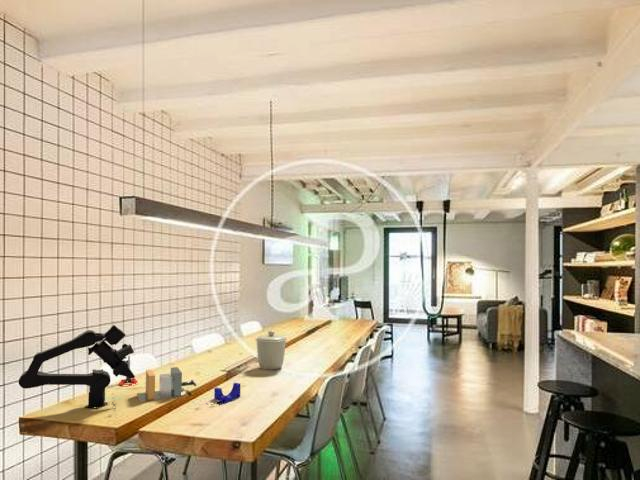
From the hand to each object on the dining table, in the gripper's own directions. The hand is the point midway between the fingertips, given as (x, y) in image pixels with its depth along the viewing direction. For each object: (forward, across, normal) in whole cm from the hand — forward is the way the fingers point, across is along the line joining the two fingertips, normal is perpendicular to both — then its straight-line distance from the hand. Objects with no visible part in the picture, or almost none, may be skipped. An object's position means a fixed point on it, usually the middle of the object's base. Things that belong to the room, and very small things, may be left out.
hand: (134, 377), depth 191 cm
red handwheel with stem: (+7, +32, +7) cm, 33 cm away
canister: (+60, +34, -46) cm, 83 cm away
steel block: (+15, 0, -3) cm, 15 cm away
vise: (+16, 0, -2) cm, 16 cm away
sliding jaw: (+11, 0, +1) cm, 11 cm away
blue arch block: (+34, -15, -19) cm, 42 cm away
